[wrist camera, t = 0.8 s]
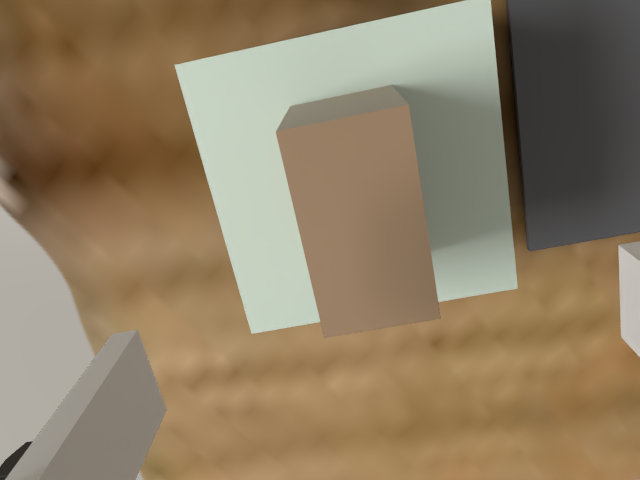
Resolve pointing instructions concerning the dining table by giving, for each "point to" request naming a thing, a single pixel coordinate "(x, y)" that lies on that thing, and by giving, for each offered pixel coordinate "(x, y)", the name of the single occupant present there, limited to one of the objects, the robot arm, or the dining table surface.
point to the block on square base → (359, 169)
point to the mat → (577, 117)
